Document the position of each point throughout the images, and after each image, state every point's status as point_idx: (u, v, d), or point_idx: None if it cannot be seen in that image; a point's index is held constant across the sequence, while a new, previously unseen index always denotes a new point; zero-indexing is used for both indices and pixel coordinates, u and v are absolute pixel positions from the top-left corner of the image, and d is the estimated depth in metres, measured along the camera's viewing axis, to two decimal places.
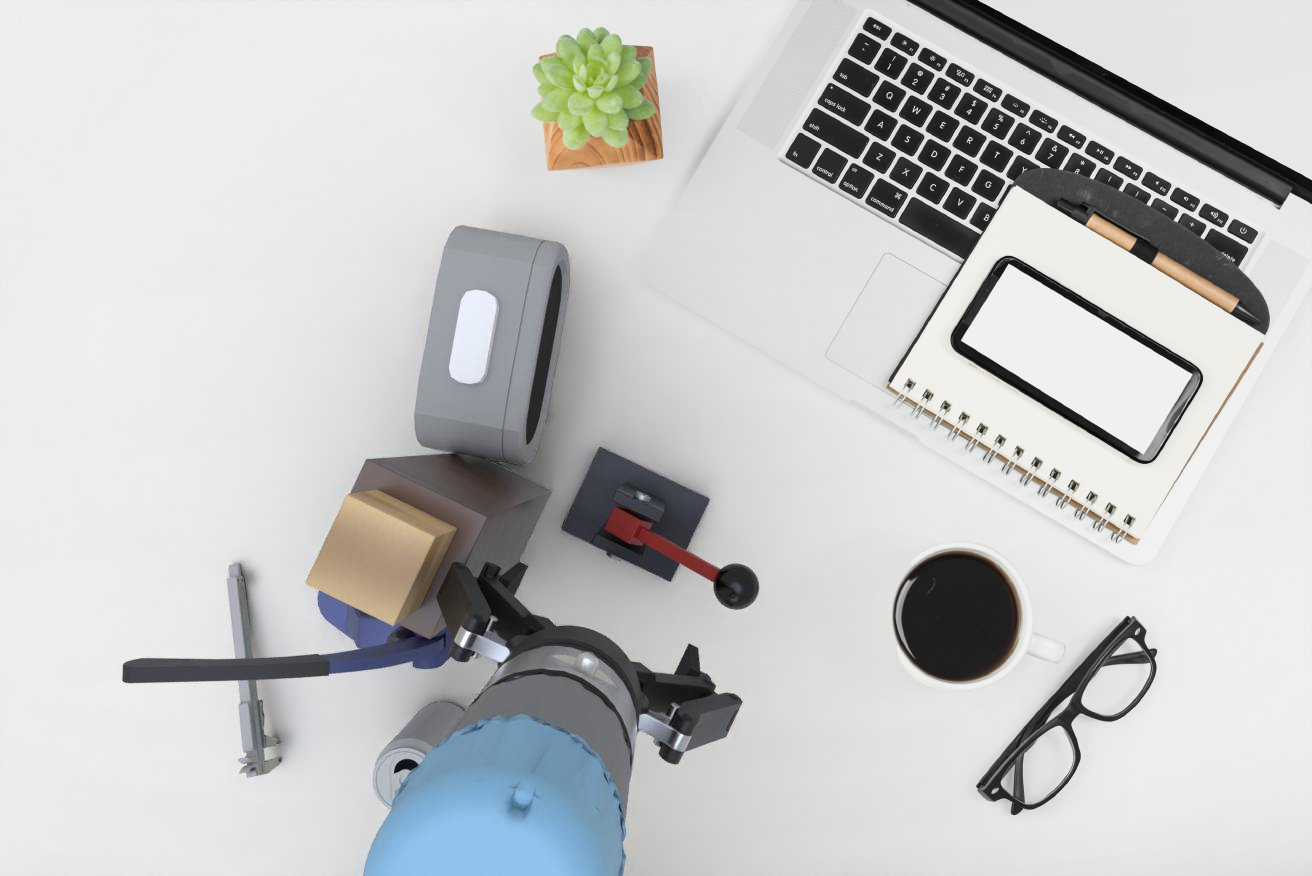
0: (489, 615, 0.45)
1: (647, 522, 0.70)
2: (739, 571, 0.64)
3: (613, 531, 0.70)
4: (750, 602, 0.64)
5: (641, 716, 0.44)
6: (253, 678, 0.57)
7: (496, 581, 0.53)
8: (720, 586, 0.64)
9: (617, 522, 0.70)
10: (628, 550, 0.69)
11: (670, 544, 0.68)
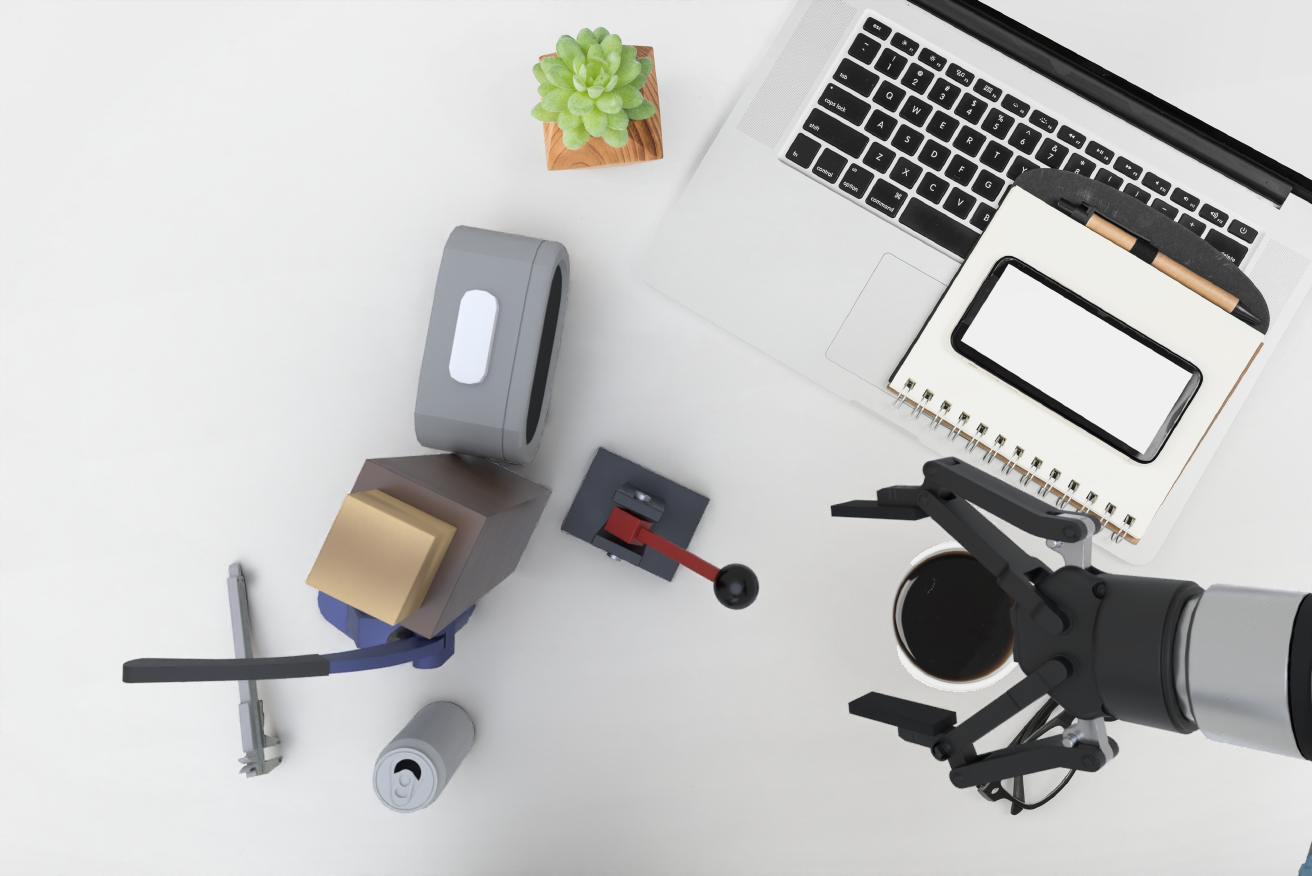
0: None
1: (647, 522, 0.70)
2: (739, 571, 0.64)
3: (613, 531, 0.70)
4: (750, 602, 0.64)
5: None
6: (253, 678, 0.57)
7: None
8: (720, 586, 0.64)
9: (617, 522, 0.70)
10: (628, 550, 0.69)
11: (670, 544, 0.68)
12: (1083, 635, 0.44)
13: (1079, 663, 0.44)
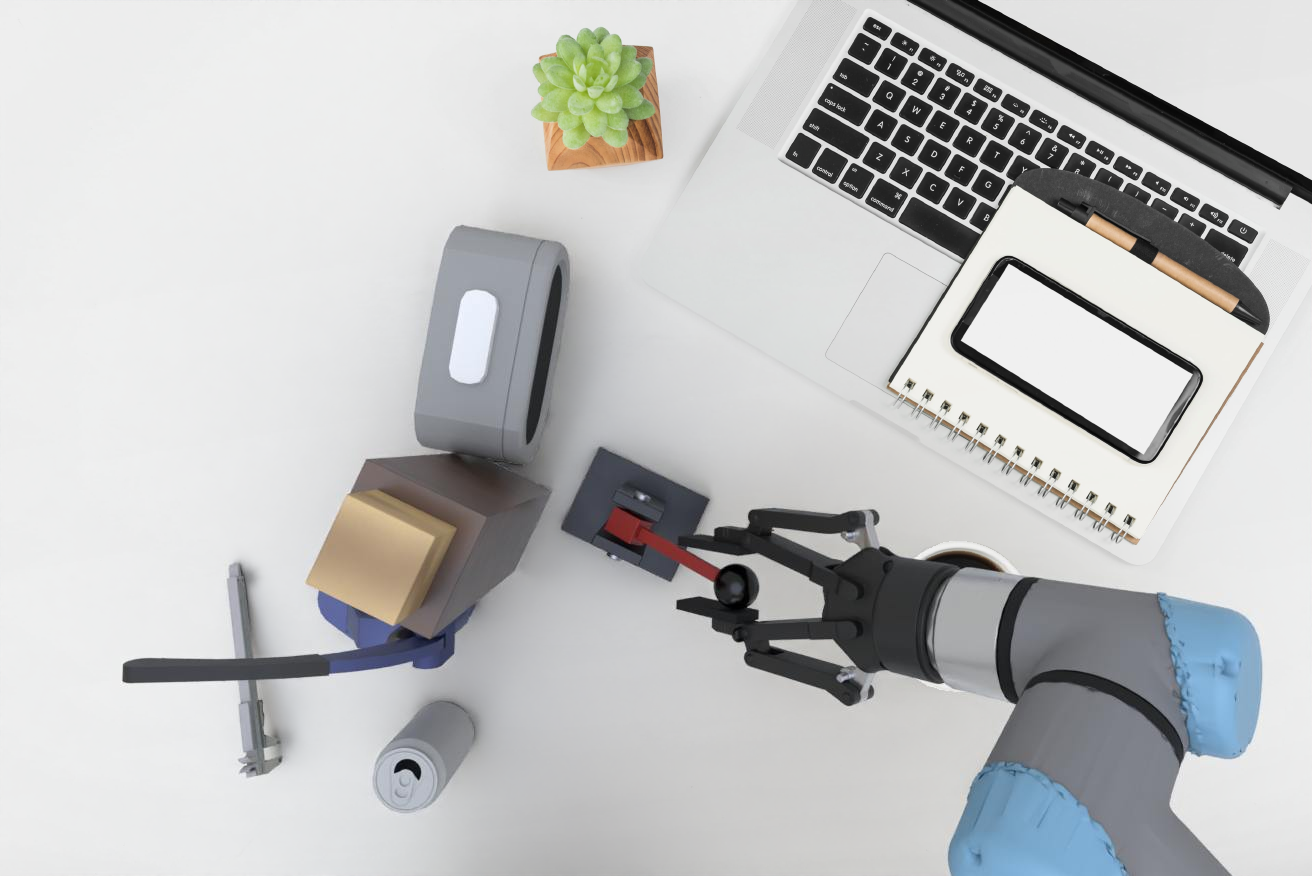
0: None
1: (647, 522, 0.70)
2: (739, 572, 0.64)
3: (613, 531, 0.70)
4: (750, 602, 0.64)
5: None
6: (253, 678, 0.57)
7: None
8: (720, 586, 0.64)
9: (617, 522, 0.70)
10: (628, 550, 0.69)
11: (670, 544, 0.68)
12: None
13: None
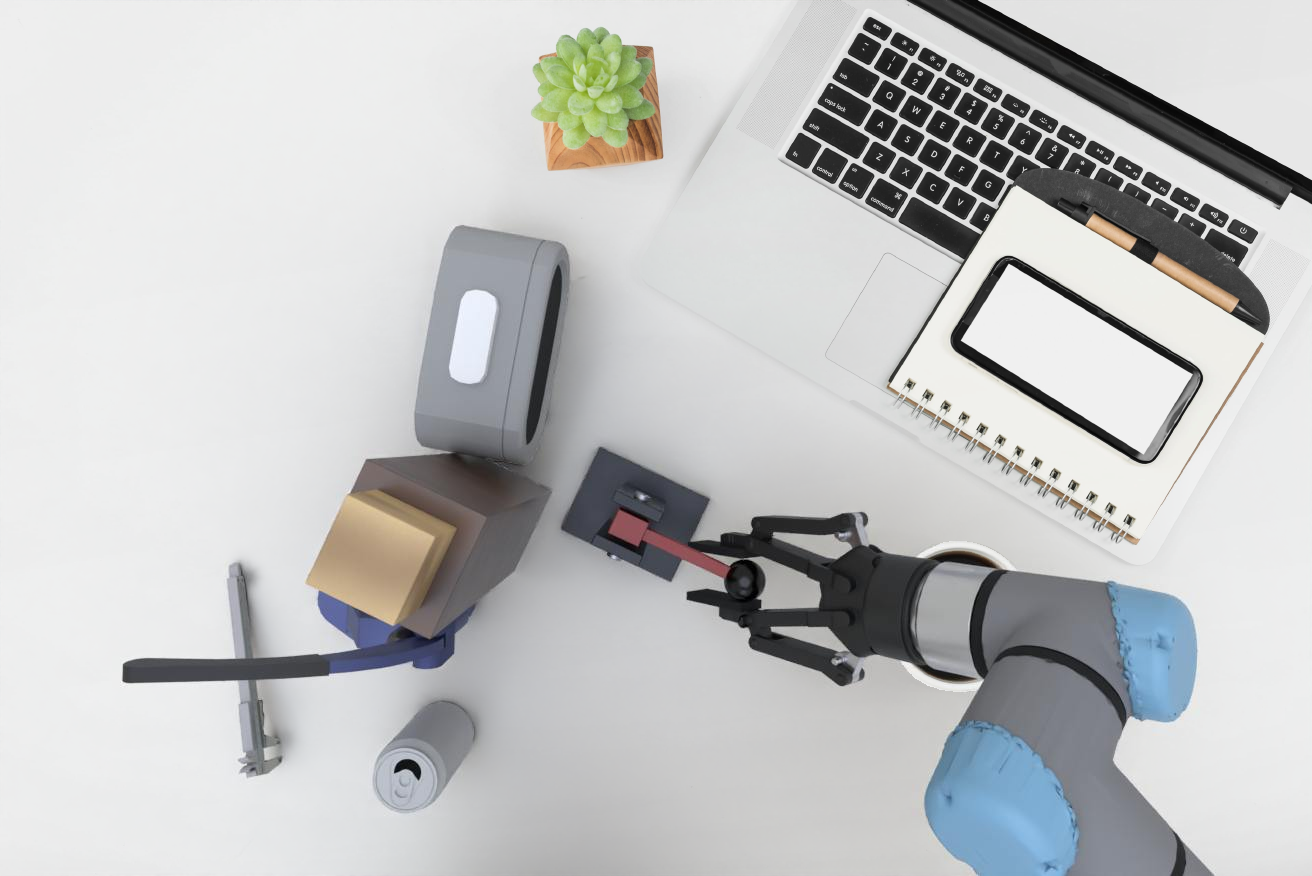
0: None
1: (648, 521, 0.71)
2: (755, 570, 0.70)
3: (619, 535, 0.69)
4: None
5: None
6: (253, 678, 0.57)
7: None
8: (739, 585, 0.69)
9: (623, 526, 0.69)
10: (628, 550, 0.69)
11: (679, 544, 0.70)
12: None
13: None
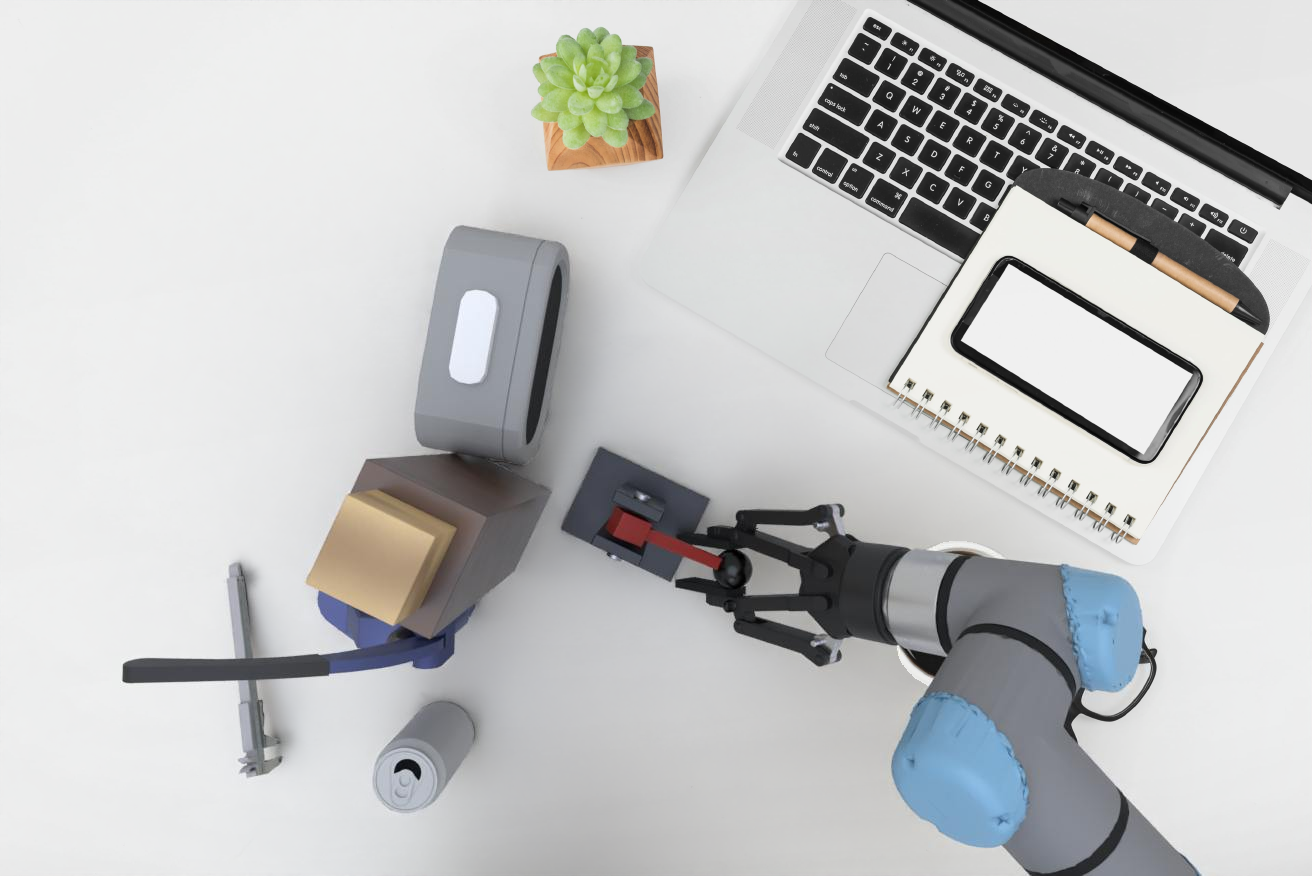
0: None
1: (646, 520, 0.71)
2: (746, 561, 0.73)
3: (624, 537, 0.69)
4: None
5: None
6: (253, 678, 0.57)
7: None
8: (733, 576, 0.73)
9: (628, 528, 0.69)
10: (628, 550, 0.69)
11: (677, 541, 0.72)
12: None
13: None
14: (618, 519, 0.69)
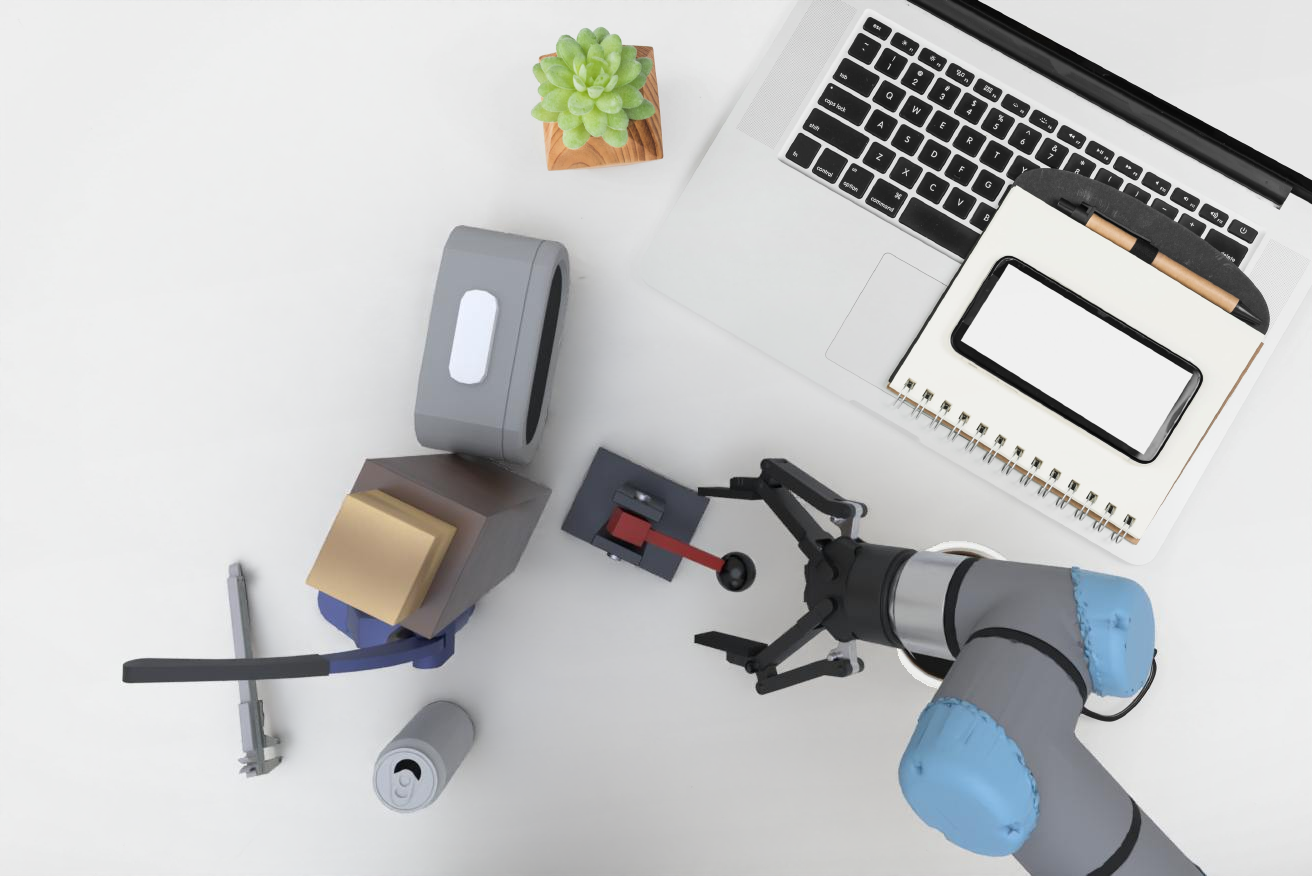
0: None
1: (646, 520, 0.71)
2: (749, 563, 0.73)
3: (623, 536, 0.69)
4: None
5: None
6: (253, 678, 0.57)
7: None
8: (735, 579, 0.72)
9: (627, 527, 0.69)
10: (628, 550, 0.69)
11: (678, 542, 0.71)
12: None
13: (842, 602, 0.65)
14: (617, 518, 0.69)
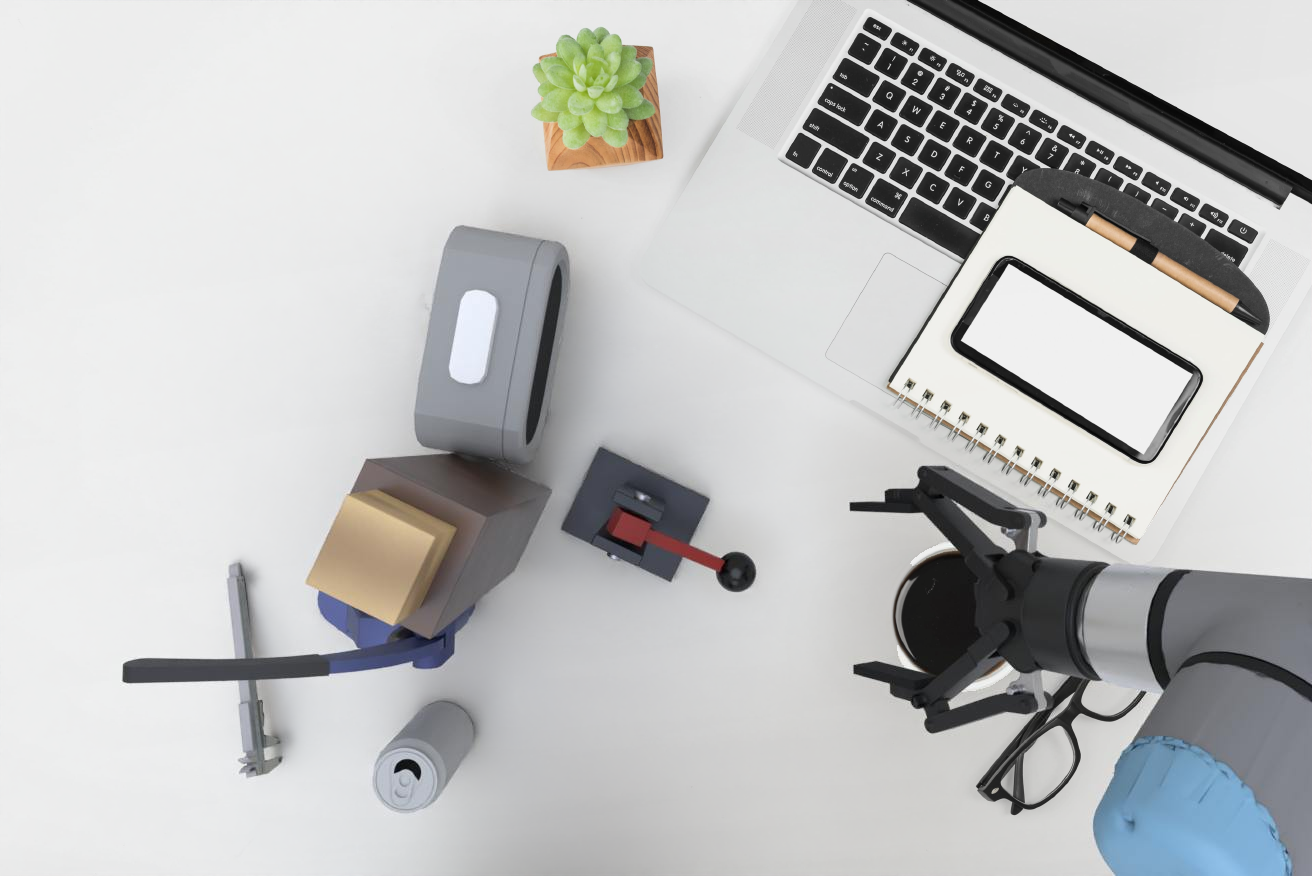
0: None
1: (646, 520, 0.71)
2: (749, 563, 0.73)
3: (623, 536, 0.69)
4: None
5: None
6: (253, 678, 0.57)
7: None
8: (735, 579, 0.72)
9: (627, 527, 0.69)
10: (628, 550, 0.69)
11: (678, 542, 0.71)
12: None
13: (1020, 626, 0.56)
14: (617, 518, 0.69)
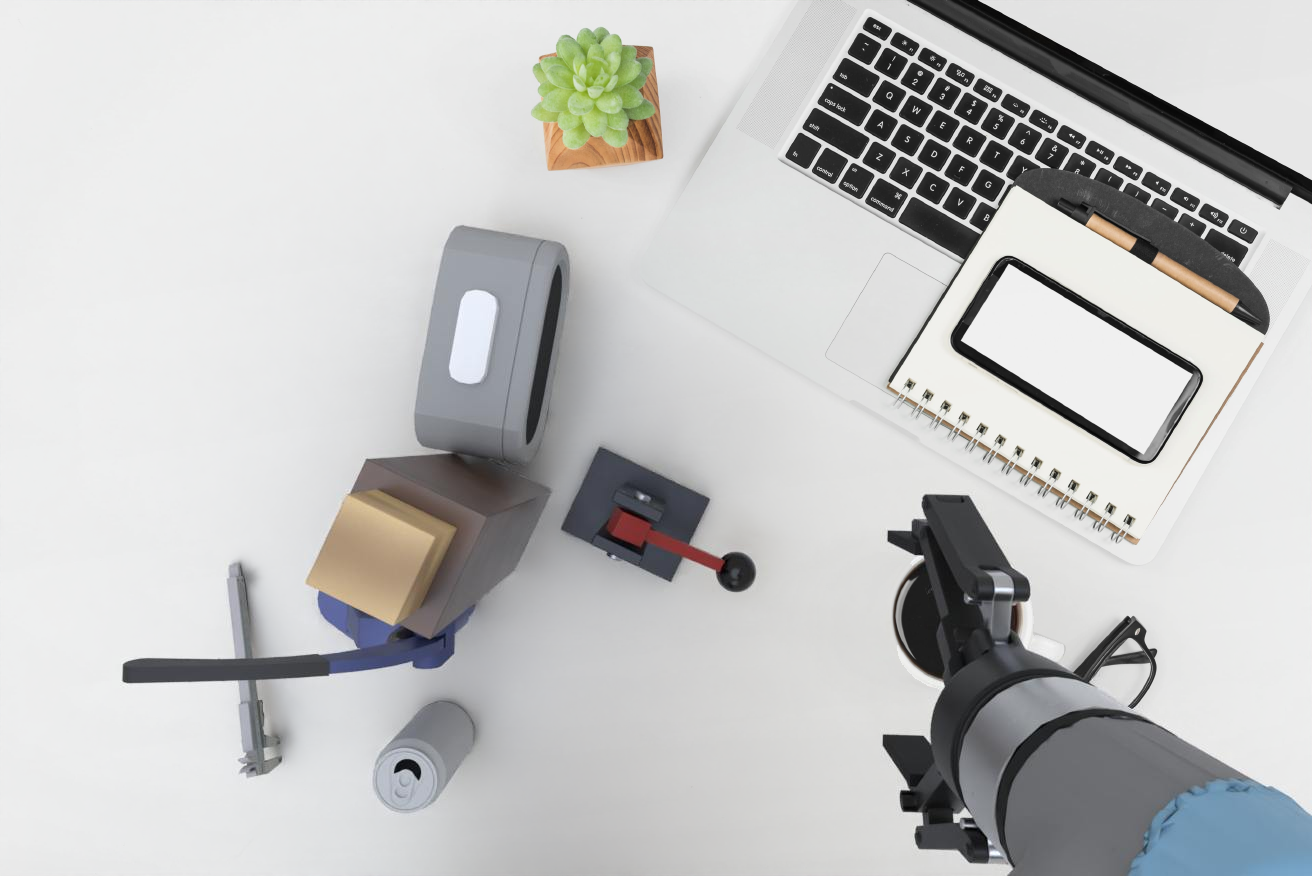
0: None
1: (646, 520, 0.71)
2: (749, 563, 0.73)
3: (623, 536, 0.69)
4: None
5: None
6: (253, 678, 0.57)
7: None
8: (735, 579, 0.72)
9: (627, 527, 0.69)
10: (628, 550, 0.69)
11: (678, 542, 0.71)
12: None
13: None
14: (617, 518, 0.69)
